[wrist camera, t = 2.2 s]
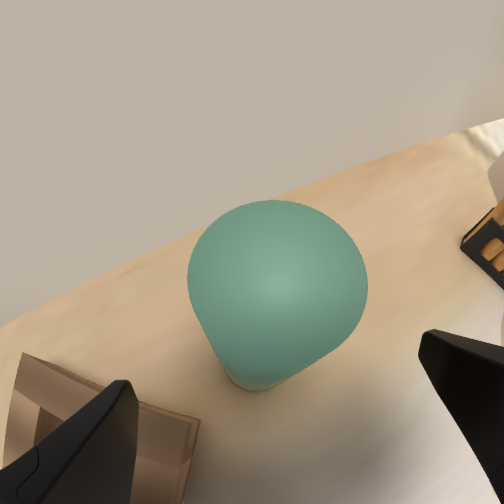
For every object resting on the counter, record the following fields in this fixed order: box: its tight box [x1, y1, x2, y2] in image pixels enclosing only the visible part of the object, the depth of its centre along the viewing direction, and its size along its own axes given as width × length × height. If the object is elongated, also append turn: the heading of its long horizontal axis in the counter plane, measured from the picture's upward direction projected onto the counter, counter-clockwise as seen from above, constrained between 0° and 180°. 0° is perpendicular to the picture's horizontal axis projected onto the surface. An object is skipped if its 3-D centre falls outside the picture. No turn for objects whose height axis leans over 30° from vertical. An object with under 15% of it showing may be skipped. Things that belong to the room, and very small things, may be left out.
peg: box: [187, 200, 368, 392], centre depth 12 cm, size 4×4×12 cm
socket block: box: [3, 352, 200, 504], centre depth 11 cm, size 11×11×4 cm
